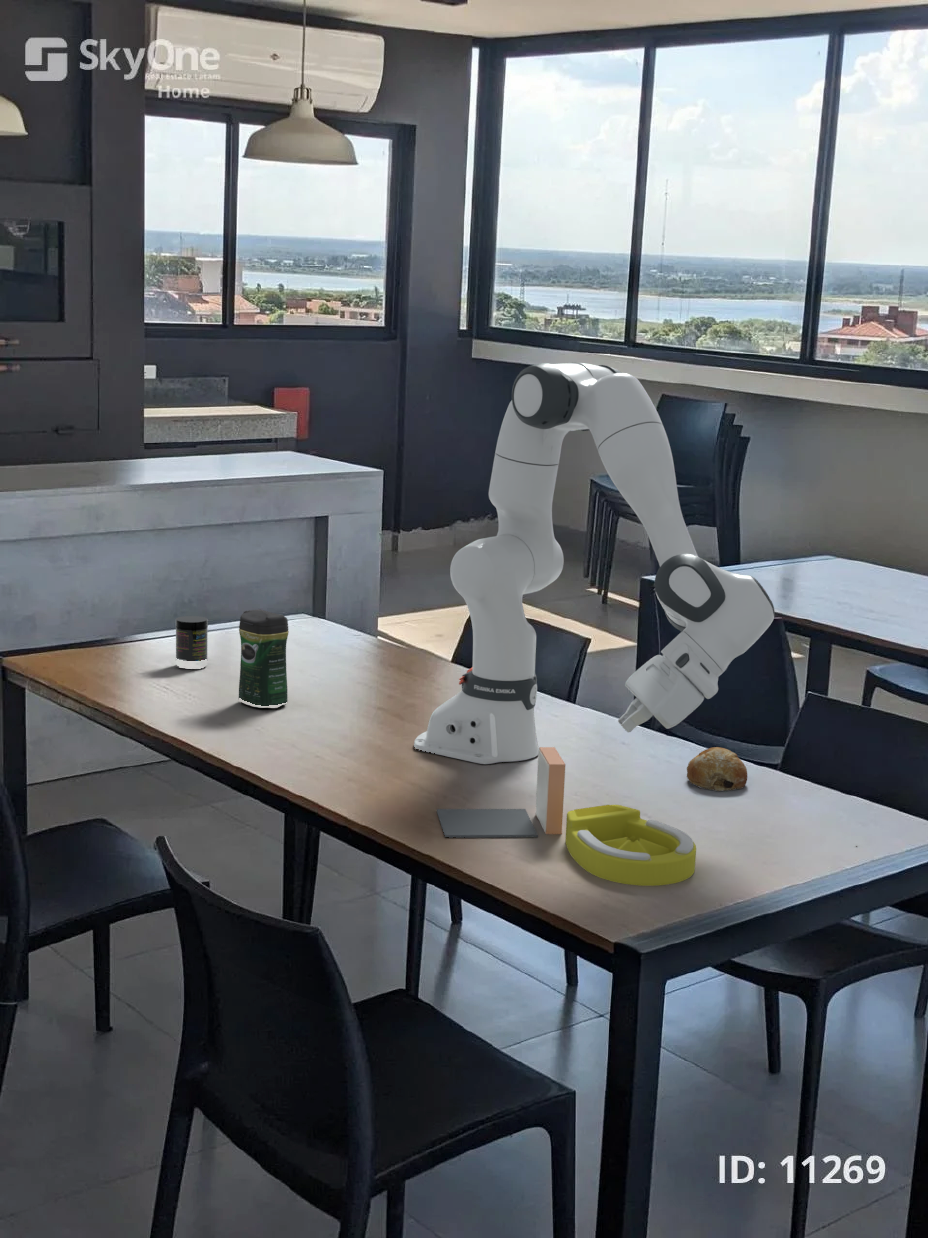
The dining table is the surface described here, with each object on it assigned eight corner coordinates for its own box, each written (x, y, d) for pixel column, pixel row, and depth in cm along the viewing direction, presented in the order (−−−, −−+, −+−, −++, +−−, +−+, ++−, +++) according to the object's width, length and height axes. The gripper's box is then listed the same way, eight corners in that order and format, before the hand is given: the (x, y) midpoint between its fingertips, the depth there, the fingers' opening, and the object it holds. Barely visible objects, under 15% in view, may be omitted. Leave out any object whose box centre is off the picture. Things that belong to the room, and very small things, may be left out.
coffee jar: (294, 706, 297) (296, 613, 294) (261, 712, 292) (262, 617, 288) (264, 696, 304) (265, 604, 300) (231, 702, 299) (232, 609, 295)
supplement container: (213, 665, 328) (214, 618, 326) (196, 672, 322) (196, 623, 319) (187, 661, 330) (187, 614, 328) (169, 668, 324) (169, 619, 322)
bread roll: (694, 810, 256) (705, 775, 251) (674, 769, 264) (684, 734, 259) (748, 807, 258) (760, 772, 254) (726, 766, 266) (738, 731, 262)
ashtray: (635, 831, 234) (637, 800, 233) (717, 878, 216) (720, 844, 215) (543, 846, 226) (544, 813, 225) (621, 895, 209) (623, 860, 208)
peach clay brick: (551, 814, 240) (554, 747, 237) (561, 834, 231) (565, 764, 229) (535, 814, 239) (538, 747, 237) (545, 834, 230) (548, 764, 228)
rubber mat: (525, 811, 241) (525, 808, 240) (537, 837, 229) (537, 834, 229) (436, 811, 239) (436, 809, 239) (445, 837, 227) (445, 835, 227)
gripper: (658, 636, 242) (594, 696, 243) (693, 665, 222) (624, 730, 223) (684, 663, 243) (621, 723, 244) (721, 695, 223) (652, 760, 224)
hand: (622, 727), depth 233 cm, fingers closed
